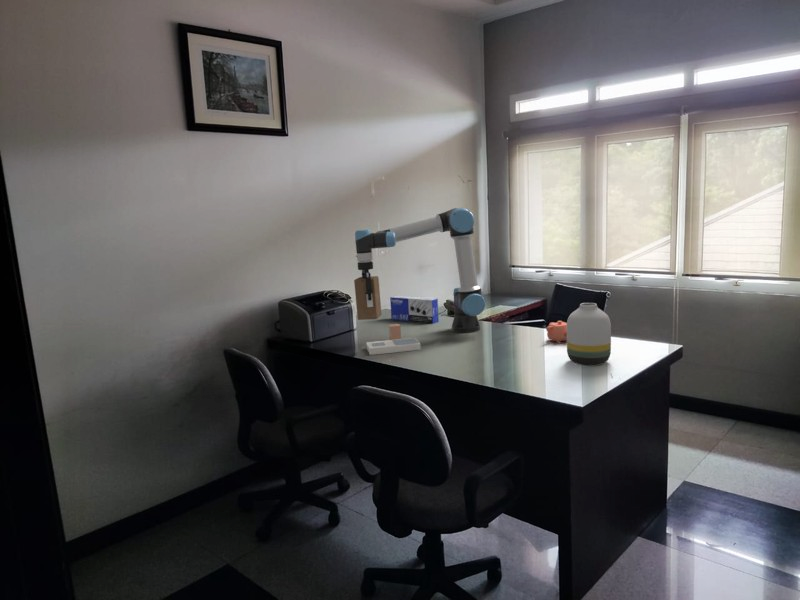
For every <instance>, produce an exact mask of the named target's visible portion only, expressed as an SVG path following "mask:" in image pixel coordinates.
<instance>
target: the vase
mask: <svg viewBox="0 0 800 600" xmlns="http://www.w3.org/2000/svg"><path fill="white" fill-rule="evenodd" d="M566 320H567V321H566V323H567V342H566V353H567V356H568V358H569V360H570V361H571V362H573V363H575V364H577V365H582V366H598V365H599V366H600V365H602V364H604V363H607V362H608V361H609V359H610V356H611V353H612V352H611V349H612V324H611V319H610V317H609V315H608V314H607V313H606V312H604V311H603V310H602V309H600V308H599V307H598V305H597V303H595V302H582V303H580V304H579V307H578V308H577V309H575V310H574V311H572V312H571V313H570V315H569V316H568V318H567V319H566Z"/></svg>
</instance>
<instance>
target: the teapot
mask: <svg viewBox="0 0 800 600" xmlns="http://www.w3.org/2000/svg"><path fill="white" fill-rule="evenodd" d="M545 330H546V332H547V339H548V340H550V341H551V342H556V343H557V344H561V343H562V341H565V342H566V343H567V322H565V321H562V320H557V322H554V321H553V322H549V324H548V326H547V327H546V329H545Z"/></svg>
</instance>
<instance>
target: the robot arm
mask: <svg viewBox="0 0 800 600" xmlns="http://www.w3.org/2000/svg"><path fill="white" fill-rule="evenodd" d="M474 225H475V216H474V214H473V213H472V212H471V211H470V210H469V209H467V208H464V207H455V208H451V209H448V210H446V211H444V212H441V213H437V214H436V216H435V217H430V218H426V219H422V220H417V221H415V222H410V223H407V224H402V225H399V226H394V227H392V228H389V229H385V230H378V231H376V232H371V230H370V229H357V230H355V232H354V237H355V239H354V242H355V251H356V255H355V258H356V261H357V270H358V271H361V277H362V278H363V279H365V280H366V292H365V294H366V296H367V307H373V299H372V292H373V291H372V285H371V277H372V275H371V272H370V271H369V270H373V269H374V262H373V260H374V259H373V251H372V249H383V248H386V249H387V248H393V247H396V243H399V242H403V241H406V240H410V239H414V238H418V237H422V236H426V235H429V234H433V233H437V232H440V233H444V232H449V235H450V238H451V239H452V240H453V241H454V249H455V254H456V262H457V269H458V278H459V284H460V285H459V287H455V288H454V289H453V294H452V296H453V309H454V317H453V319H452V323H451V330H452V332H456V333H474V332H478V331H480V330H481V324H480V321H479V318H478V316H479V315H481V314H482V313H483V312H484V311H485V308H486V301H485V298H484V296H483V293H482V286H480V285H478V279H477V278H478V277H477V270H476V264H475V263H476V262H475V257H474V256H475V255H474V248H473V241H472V237H473V236H474V235H475V233H474Z"/></svg>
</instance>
